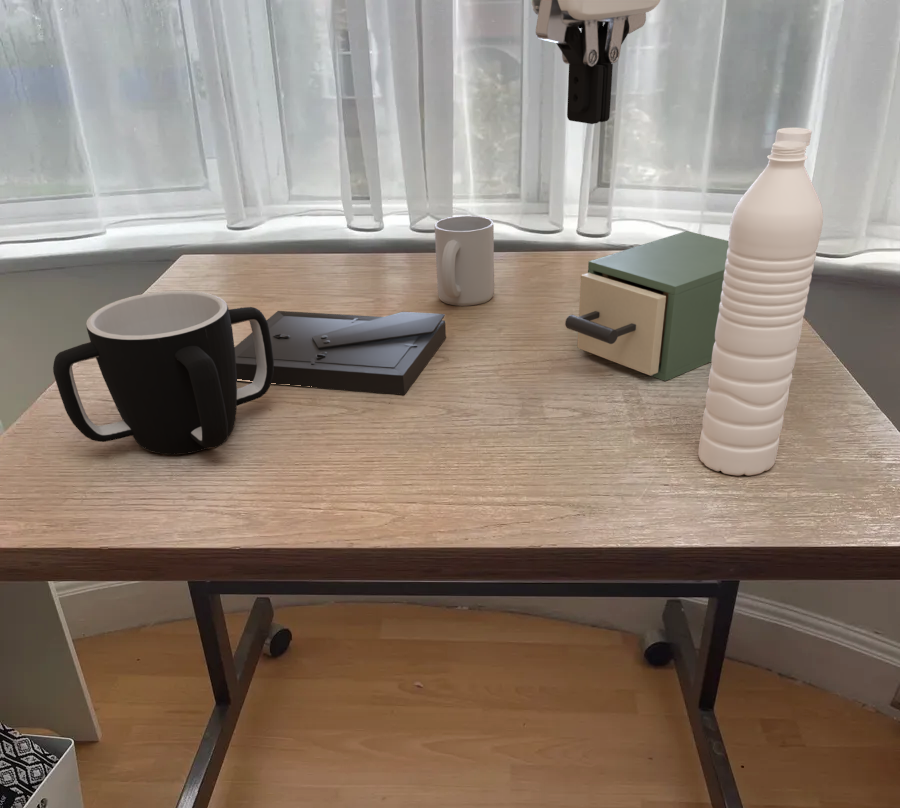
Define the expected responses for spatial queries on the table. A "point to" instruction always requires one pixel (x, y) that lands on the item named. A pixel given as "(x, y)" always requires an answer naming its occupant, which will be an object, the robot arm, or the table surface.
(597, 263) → the cabinet
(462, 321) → the table surface
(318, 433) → the table surface
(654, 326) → the drawer
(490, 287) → the cup
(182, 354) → the mug
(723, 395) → the water bottle
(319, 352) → the picture frame
